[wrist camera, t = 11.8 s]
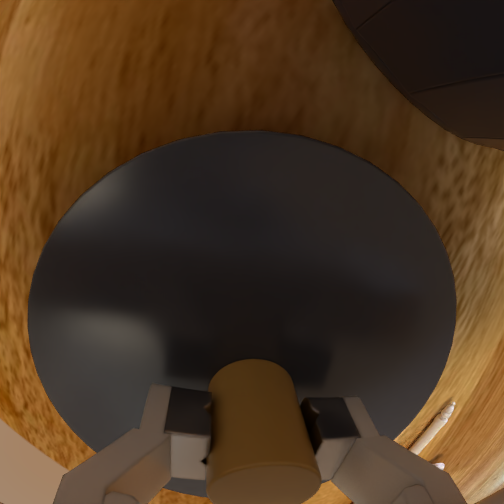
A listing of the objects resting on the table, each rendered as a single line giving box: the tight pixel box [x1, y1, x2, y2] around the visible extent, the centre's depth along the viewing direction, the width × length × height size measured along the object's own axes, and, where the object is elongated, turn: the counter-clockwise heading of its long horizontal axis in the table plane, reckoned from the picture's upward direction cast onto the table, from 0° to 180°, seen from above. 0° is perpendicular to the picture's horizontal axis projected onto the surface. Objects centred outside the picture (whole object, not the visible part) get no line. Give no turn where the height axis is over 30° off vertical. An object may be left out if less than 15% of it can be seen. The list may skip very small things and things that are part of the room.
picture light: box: [353, 402, 455, 504], centre depth 14 cm, size 14×4×2 cm, turn 159°
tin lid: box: [28, 130, 457, 504], centre depth 7 cm, size 14×14×5 cm
